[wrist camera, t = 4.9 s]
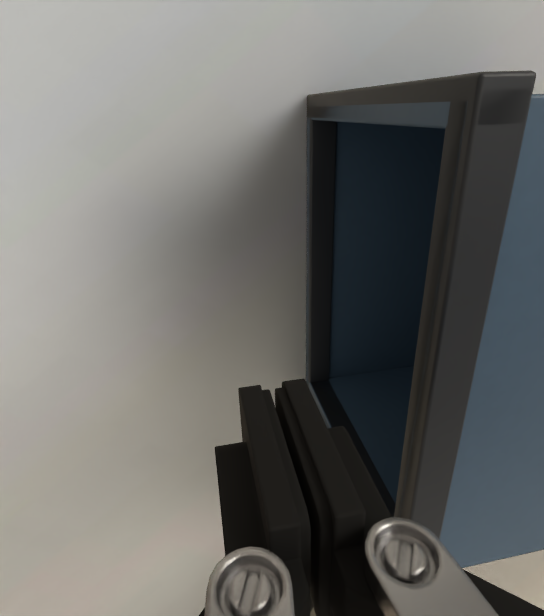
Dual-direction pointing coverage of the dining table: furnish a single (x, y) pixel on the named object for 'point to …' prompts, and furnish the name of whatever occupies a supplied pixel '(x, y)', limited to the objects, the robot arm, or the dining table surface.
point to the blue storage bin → (434, 299)
